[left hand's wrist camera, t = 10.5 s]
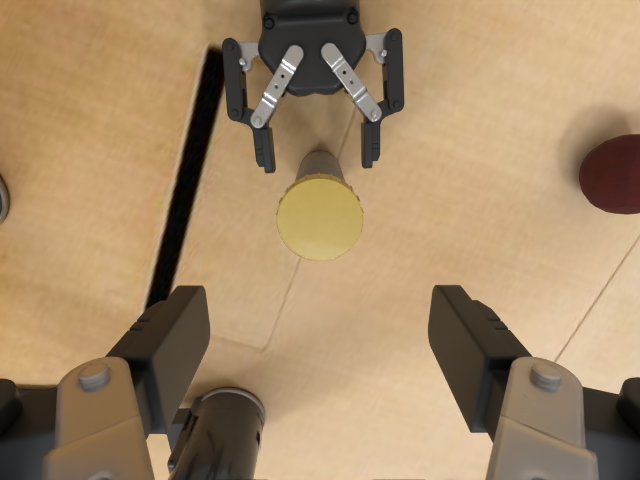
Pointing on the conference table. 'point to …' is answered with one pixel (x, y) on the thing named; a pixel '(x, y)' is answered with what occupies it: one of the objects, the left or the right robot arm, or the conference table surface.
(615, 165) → the potato
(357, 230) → the lid
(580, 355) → the conference table surface
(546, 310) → the conference table surface
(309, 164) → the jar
